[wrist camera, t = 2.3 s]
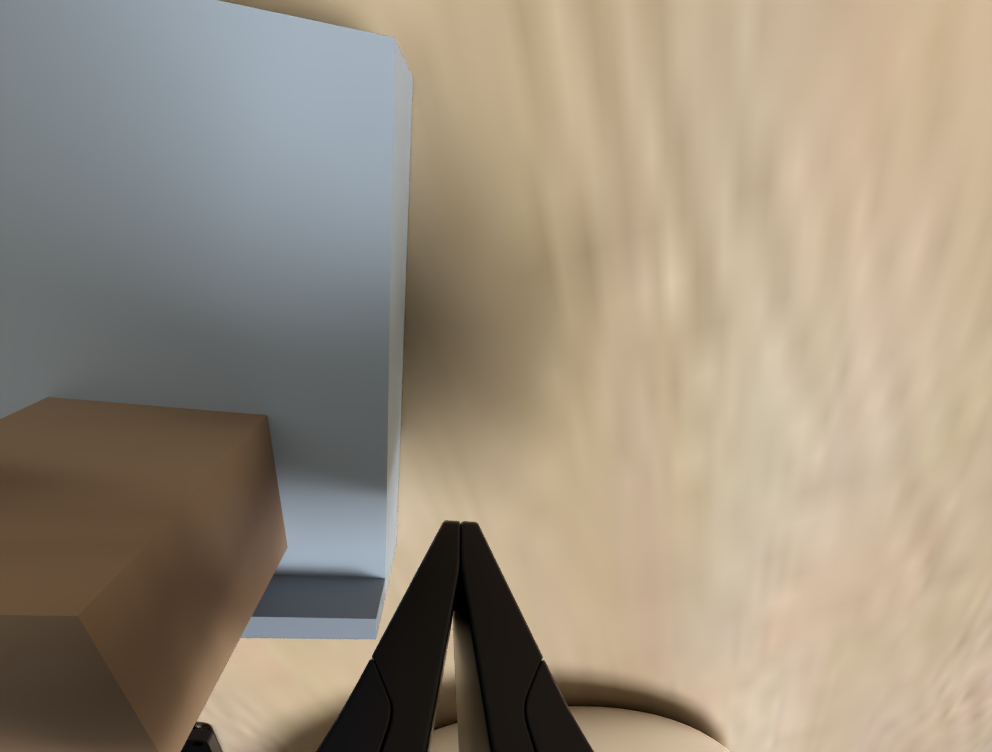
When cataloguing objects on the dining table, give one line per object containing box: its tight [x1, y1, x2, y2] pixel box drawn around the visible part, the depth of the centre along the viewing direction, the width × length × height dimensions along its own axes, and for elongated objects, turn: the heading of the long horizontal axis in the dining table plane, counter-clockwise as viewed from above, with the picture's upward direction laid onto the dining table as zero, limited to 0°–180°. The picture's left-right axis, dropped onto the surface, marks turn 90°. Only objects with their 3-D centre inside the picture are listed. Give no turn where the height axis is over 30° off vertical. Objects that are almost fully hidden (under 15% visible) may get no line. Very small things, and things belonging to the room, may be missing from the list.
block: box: [0, 397, 288, 752], centre depth 7 cm, size 4×4×4 cm
